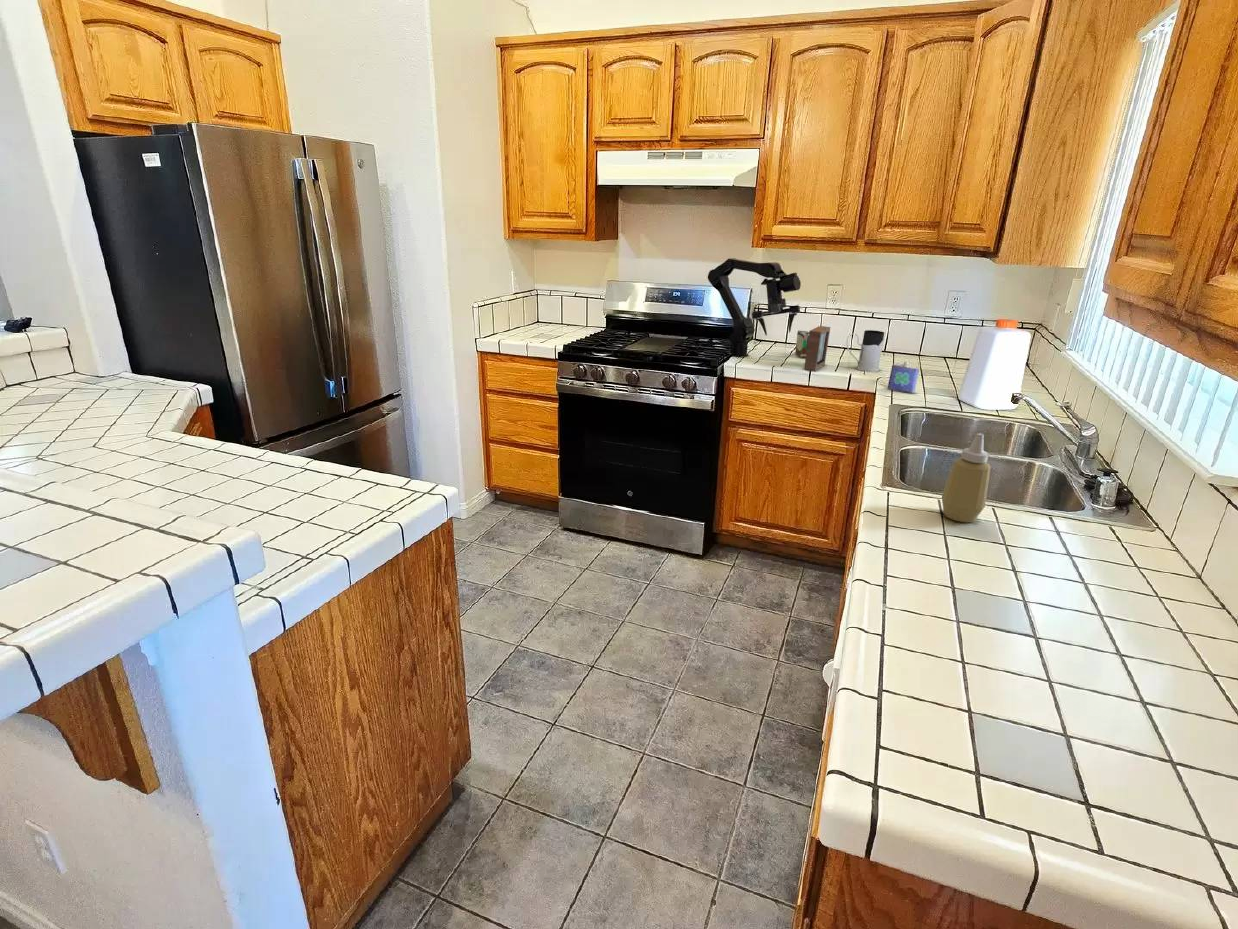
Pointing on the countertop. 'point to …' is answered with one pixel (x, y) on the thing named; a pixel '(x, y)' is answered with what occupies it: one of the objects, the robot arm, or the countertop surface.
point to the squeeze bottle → (967, 483)
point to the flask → (903, 378)
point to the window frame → (817, 348)
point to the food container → (801, 343)
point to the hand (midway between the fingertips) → (777, 333)
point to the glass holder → (870, 350)
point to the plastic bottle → (996, 366)
